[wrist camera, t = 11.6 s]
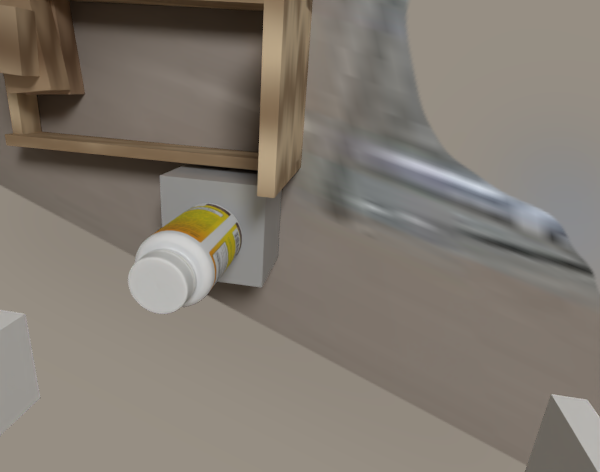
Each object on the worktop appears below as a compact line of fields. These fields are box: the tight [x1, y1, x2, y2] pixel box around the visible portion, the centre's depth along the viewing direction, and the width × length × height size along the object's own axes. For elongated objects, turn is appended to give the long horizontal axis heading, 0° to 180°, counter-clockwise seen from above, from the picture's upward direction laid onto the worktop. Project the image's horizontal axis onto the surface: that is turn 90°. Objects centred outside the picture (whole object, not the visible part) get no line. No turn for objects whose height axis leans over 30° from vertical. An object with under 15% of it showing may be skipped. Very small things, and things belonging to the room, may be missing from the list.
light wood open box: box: [5, 0, 313, 198], centre depth 33 cm, size 14×28×12 cm, turn 86°
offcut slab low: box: [26, 0, 85, 95], centre depth 39 cm, size 8×4×2 cm, turn 1°
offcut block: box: [0, 5, 40, 76], centre depth 34 cm, size 5×3×2 cm, turn 173°
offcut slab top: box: [0, 0, 71, 93], centre depth 36 cm, size 8×4×2 cm, turn 4°
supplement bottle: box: [128, 203, 242, 314], centre depth 31 cm, size 6×6×10 cm
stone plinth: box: [160, 164, 282, 287], centre depth 39 cm, size 9×9×7 cm
